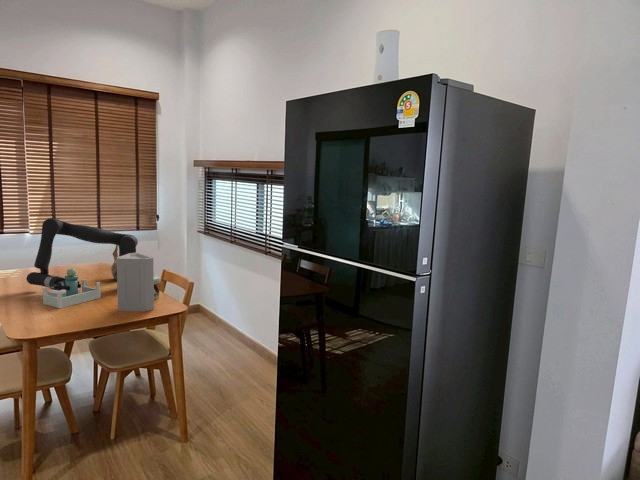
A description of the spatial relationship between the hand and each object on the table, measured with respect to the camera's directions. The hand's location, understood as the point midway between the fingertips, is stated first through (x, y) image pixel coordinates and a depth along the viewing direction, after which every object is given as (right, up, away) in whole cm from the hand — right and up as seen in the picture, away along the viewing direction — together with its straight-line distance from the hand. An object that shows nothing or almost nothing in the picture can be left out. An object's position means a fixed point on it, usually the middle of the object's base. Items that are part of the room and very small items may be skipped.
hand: (74, 287), depth 227 cm
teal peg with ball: (-3, -8, +2) cm, 8 cm away
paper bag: (+34, -11, -5) cm, 36 cm away
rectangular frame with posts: (-3, -8, +2) cm, 8 cm away
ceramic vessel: (0, -1, +51) cm, 51 cm away
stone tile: (-15, -5, +14) cm, 21 cm away
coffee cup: (+37, -8, +14) cm, 40 cm away
